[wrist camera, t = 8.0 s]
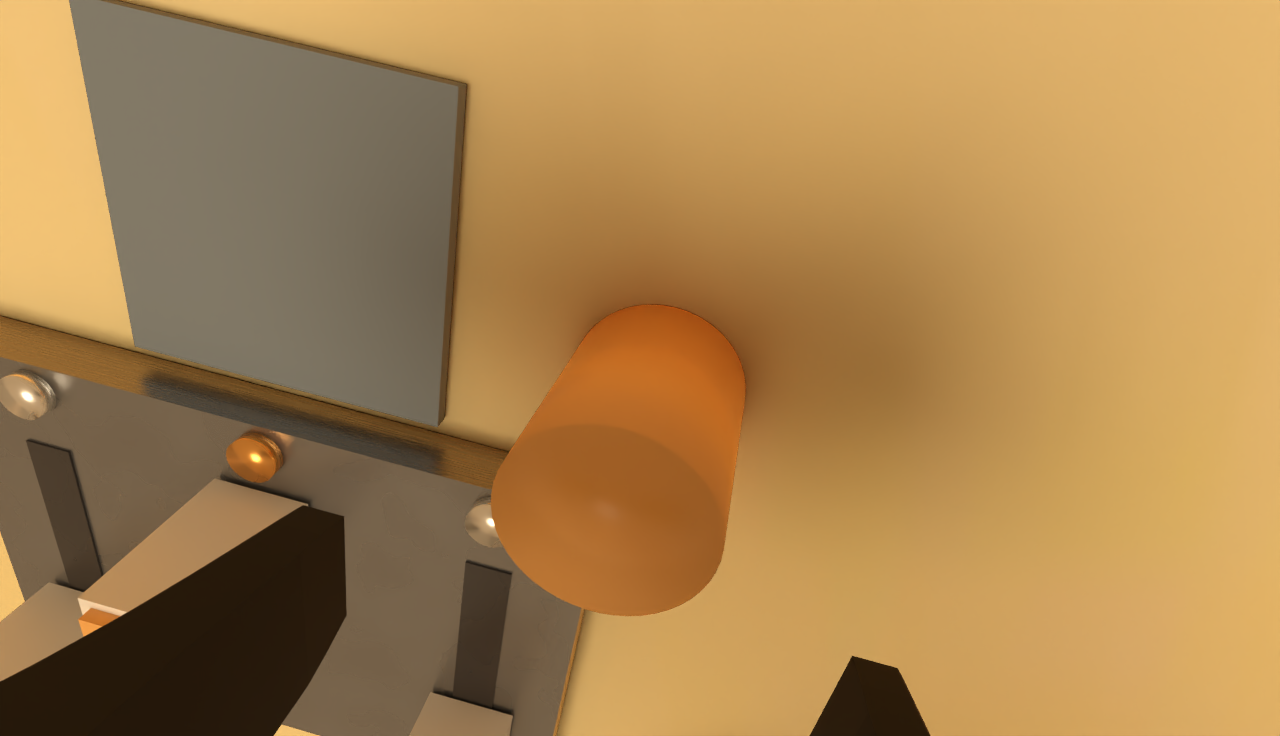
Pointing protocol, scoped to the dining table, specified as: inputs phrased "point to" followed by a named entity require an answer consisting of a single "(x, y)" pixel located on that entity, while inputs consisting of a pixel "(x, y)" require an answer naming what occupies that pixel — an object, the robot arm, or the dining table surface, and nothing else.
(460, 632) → the panel
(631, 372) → the cap
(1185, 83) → the dining table surface
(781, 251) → the dining table surface
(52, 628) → the block
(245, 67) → the mat
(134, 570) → the block
